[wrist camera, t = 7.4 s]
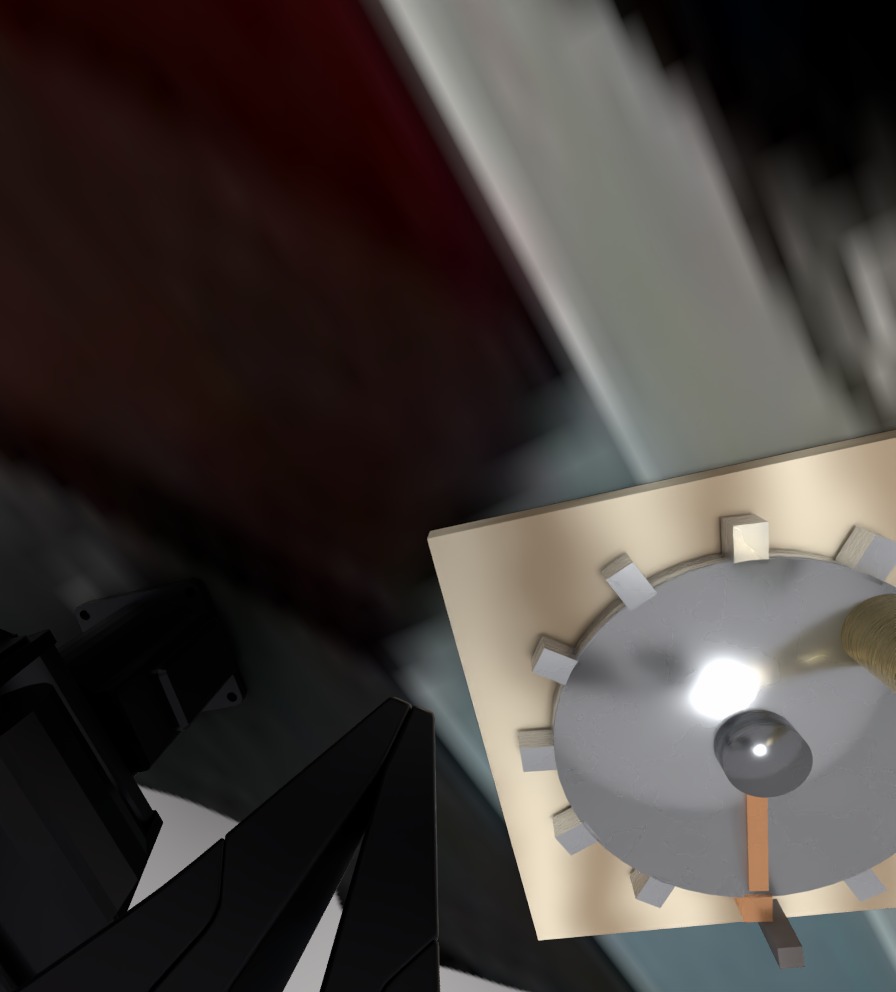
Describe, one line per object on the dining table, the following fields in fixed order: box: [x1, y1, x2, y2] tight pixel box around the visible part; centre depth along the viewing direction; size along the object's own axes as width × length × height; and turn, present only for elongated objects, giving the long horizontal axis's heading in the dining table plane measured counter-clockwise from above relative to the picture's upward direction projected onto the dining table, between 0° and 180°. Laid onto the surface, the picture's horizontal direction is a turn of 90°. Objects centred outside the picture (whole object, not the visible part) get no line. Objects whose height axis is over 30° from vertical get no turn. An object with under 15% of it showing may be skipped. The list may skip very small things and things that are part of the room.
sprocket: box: [519, 514, 896, 922], centre depth 15 cm, size 18×18×12 cm
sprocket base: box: [427, 430, 896, 969], centre depth 21 cm, size 22×22×3 cm
